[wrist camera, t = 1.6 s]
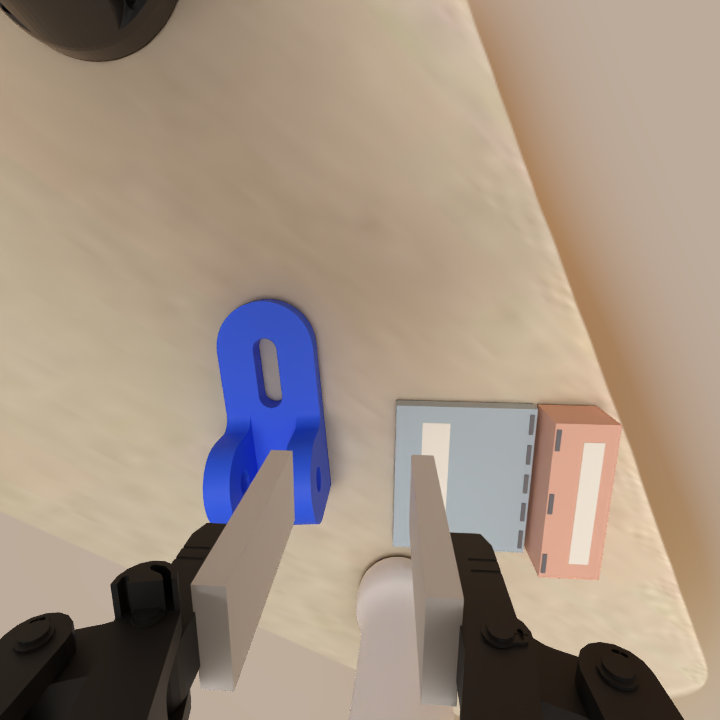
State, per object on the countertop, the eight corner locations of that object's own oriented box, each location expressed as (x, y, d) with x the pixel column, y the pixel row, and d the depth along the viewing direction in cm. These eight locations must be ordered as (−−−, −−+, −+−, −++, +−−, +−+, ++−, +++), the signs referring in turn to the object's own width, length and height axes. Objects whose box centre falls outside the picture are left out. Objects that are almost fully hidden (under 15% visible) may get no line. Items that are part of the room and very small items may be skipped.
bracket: (331, 483, 43) (316, 542, 35) (246, 487, 44) (211, 545, 35) (311, 295, 39) (289, 308, 30) (218, 302, 40) (170, 316, 31)
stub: (537, 404, 40) (556, 423, 35) (596, 405, 39) (622, 425, 35) (523, 543, 43) (538, 578, 39) (577, 546, 43) (599, 581, 38)
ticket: (396, 400, 41) (396, 406, 39) (532, 403, 40) (538, 409, 38) (392, 536, 44) (393, 547, 42) (518, 542, 43) (523, 553, 42)
